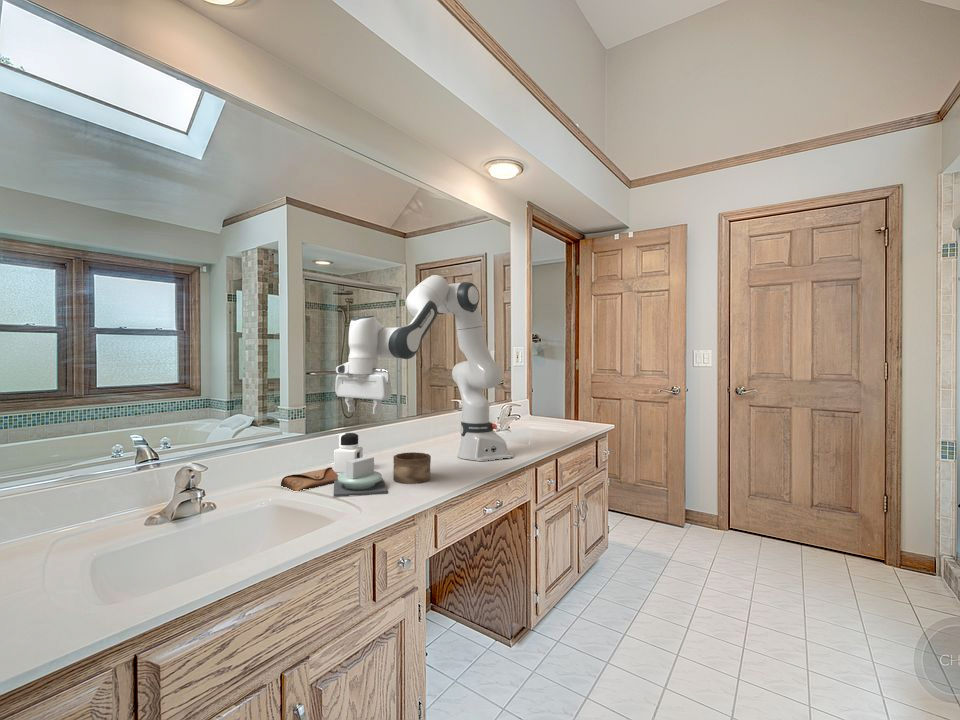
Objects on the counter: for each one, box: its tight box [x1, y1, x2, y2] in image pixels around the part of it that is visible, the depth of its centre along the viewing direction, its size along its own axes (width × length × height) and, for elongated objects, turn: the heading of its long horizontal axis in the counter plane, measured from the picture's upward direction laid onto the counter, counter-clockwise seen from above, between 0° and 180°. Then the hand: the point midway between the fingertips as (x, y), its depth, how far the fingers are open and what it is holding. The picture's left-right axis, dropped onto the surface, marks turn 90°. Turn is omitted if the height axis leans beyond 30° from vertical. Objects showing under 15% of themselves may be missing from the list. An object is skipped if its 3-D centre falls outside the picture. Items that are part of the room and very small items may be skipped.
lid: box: [337, 455, 383, 490], centre depth 140 cm, size 13×13×8 cm
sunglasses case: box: [280, 466, 339, 492], centre depth 144 cm, size 18×7×7 cm, turn 143°
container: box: [332, 432, 364, 474], centre depth 161 cm, size 8×8×13 cm
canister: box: [392, 451, 432, 485], centre depth 152 cm, size 12×12×8 cm
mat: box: [333, 477, 388, 497], centre depth 140 cm, size 15×15×1 cm
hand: (362, 413), depth 141 cm, fingers open, 8 cm apart
